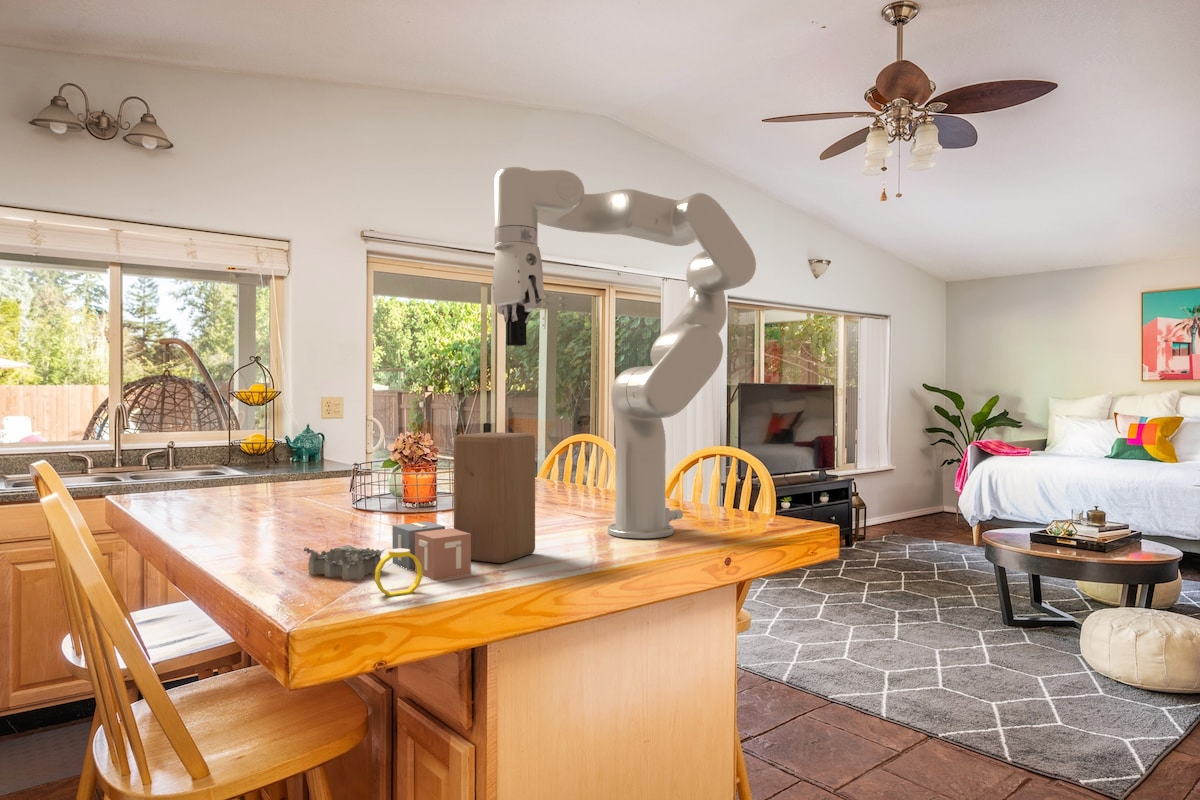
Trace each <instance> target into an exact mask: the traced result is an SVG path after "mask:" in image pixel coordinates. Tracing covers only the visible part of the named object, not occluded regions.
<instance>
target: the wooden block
mask: <svg viewBox="0 0 1200 800" xmlns="http://www.w3.org/2000/svg"><path fill="white" fill-rule="evenodd" d="M453 529H456V530H460V531H463V532H467V533H470V534H471V561H475V562H483V563H490V562H492V564H498V563H502V564H505V563H508V562H511V561H513V560H516V559H517V560H518V559H520V558H522V556H523V557H526V556H529V555H531V554H533V553H534V552H535V550H536V437H535V435H533V434H531V433H525V432H523V433H522V432H491V431H490V432H488V431H487V432H479V433H478V432H477V433H475V432H474V433H463V434H461V433H459V434H458V435H455V436H454V439H453Z"/></svg>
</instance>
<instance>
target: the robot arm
mask: <svg viewBox="0 0 1200 800" xmlns="http://www.w3.org/2000/svg"><path fill="white" fill-rule="evenodd" d="M538 223H539V224H540V225H543V226H546V227H551V228H555V229H561V230H565V231H570V232H576V233H577V232H578V233H591V234H602V235H622V236H626V237H631V238H637V239H641V240H646V241H649V242H650V241H651V242H654V243H658V244H659V243H660V244H664V245H669V246H674V247H684V246H688V245H692V244H694V243H696V242H698V244H699V245H700V247H701V248H702V250H704V251H702V252H699V253H697V254H696V255H695V256H694V257H693V258H692V259H691V260H690V262H689V263H688V265H687V267H686V274H685V276H686V277H685V278H686V284H687V289H688V290H687V291H688V300H687V303H686V304H685V306H684V307H683V309H681V312H679V314H678V315H677V317H676V318H675V319H674V320H672V322H671V323H670V324H669V325H668V326H667V328H666V329H665V330H664V331H663V332H662V333H660V335H658V337H657V338H656V339H655V341H654V343H653V344H652V347H651V349H650V354H649V355H650V361H651V364H652V365H646V366H642V365H641V366H634V367H630V368H627V369H625V370H623V371H622V372H621V373H620V374H618V375H617V377H615V379H614V381H613V384H612V387H611V393H610V398H611V399H610V400H611V407H612V413H613V420H614V430H615V431H614V432H615V435H614V436H615V456H614V457H615V460H614V461H615V471H614V472H615V479H614V481H615V523H612V524H609V525H607V529H606V530H607V533H608V534H609V535H611V536H614V537H617V538H625V539H658V538H665V537H666V538H667V537H669V536H671V535H673V534H674V532H675V530H674V529H675V528H674V526H673V525H671V524H670V522H672V520H673V521H675V520H681V519H682V518H683V517H684V513H683V510H682V509H680V508H679V509H678V508H677V509H672V510H670V508H669V507H666V448H667V445H666V441H667V440H666V433H665V426H664V424H663V420H662V419H665V418H671V417H673V416H676V415H678V414H679V413H680V412H681V411H683V410H684V409H685V408H686V407H687V406H688V405H689V404H690V402H691V401H692V400H693V399H694V398H695V397H696V396H697V395H698V394H699V392H700V391H701V389H703V387H704V386H705V384H707V382H708V381H709V380H710V379H711V378H712V377H713V375H714V374H715V372H717V370H718V368H719V366H720V364H721V361H722V359H723V354H724V346H723V340H722V338H721V337H720V334H719V333H720V332H721V331H722V330H723V328H724V326H725V323H726V321H727V314H728V313H727V302H726V296H725V295H726V294H725V291H728V290H732V289H737V288H740V287H742V286H745V285H747V284H748V283H749V282H750V281H751V280H752V279H753V278H754V275H755V273H756V270H757V269H756V268H757V262H756V257H755V254H754V251H753V249H752V248H751V246H750V244H749V243H748V241H747V240H746V239H745V236H743V233H741V231H740V230H739V229H738V227H737V226H736V224H735V223H734V221H733V220H732V218H731V217H730V216H729V214H728V213H727V212H726V210H725V209H724V208H723V207H722V206H721V204H720V203H719V202H718V201H717V200H715V198H713V197H712V196H711V195H708V194H707V193H703V192H696V193H692V194H690V195H688V196H686V197H684V198H681V199H672V198H668V197H664V196H660V195H657V194H656V195H655V194H651V193H648V192H643V191H641V190H636V189H634V188H633V189H631V188H626V189H625V188H624V189H615V190H612V191H611V190H610V191H606V192H601V193H585V187H584V183H583V181H582V180H581V178H580V177H579V176H577V175H576V174H575V173H573V172H571V171H568V170H564V169H550V170H545V169H544V170H532V169H529V168H526V167H521V166H520V167H519V166H510V167H509V166H508V167H503V168H501V169H499V170H498V171H497V172H496V174H495V175H494V249H495V253H494V261H493V273H492V275H493V276H492V301H493V303H494V305H495V306H497V314H499V315H502V316H503V318H504V319H503V320H504V323H505V333H506V334H505V345H506V346H515V347H523V346H526V345H527V323H528V322H529V317H530V316H529V315H530V313H531V312H532V311H534V310H535V309H536V308H537V305H538V304H540V303H542V302H543V301H544V294H545V293H544V273H543V272H544V271H543V261H542V255H541V251H540V247H539V246H538V245H539V244H538V237H539V236H538V230H539V229H538V228H539V226H538Z"/></svg>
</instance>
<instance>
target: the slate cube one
mask: <svg viewBox="0 0 1200 800" xmlns="http://www.w3.org/2000/svg"><path fill="white" fill-rule="evenodd" d="M440 529H446V526H444V525H442V524H437V523H435V522H432V521H421V522H412V523H411V522H410V523H403V524H402V523H401V524H392V549H398V548H403V549H409V550H410V554H412V555H414V556H415V533H416V532H424V531H432V530H440ZM392 564H394V565H396V564H397V565H396V566H398V565H399V566H398V567H401V566H402V567H401V568H403V567H404V569H405V568H407V569H406V570H407V571H408V570H409V571H411V570H410V569H413V570H415V562H414V560H413V559H412V558H411V557H409V556H407V557H392Z"/></svg>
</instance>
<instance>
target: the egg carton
mask: <svg viewBox="0 0 1200 800" xmlns="http://www.w3.org/2000/svg"><path fill="white" fill-rule="evenodd" d="M384 551H386V548H384V549H382V550H380V549H376V550H375V549H374V548H372V549H371V548H369V547H366V548H362V547H361V548H356V547H355V546H352V545H350V544H346V545H342V546H340V547H336V548H335V547H334V548H330V550H328V551H326V550H322V551H321V553H319V552H317V551H316V550H314V549H310V548H309V547H304V549H303V552H306V553H307V554H308V555H309V554H310V556H309V557H308V565H307V567H308V574H309V575H324V577H326V578H333V577H341V579H342V580H346V579H348V580H353V578H357V579H356V580H361V579H364V578H365V575H372V574H373V575H375V570H376V567H377V565H378V564H379V562H380V560H381V559H382V558H381V556H382V554H383V553H384ZM369 573H371V574H369ZM364 574H365V575H364ZM363 577H364V578H363ZM360 578H361V579H360Z"/></svg>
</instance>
